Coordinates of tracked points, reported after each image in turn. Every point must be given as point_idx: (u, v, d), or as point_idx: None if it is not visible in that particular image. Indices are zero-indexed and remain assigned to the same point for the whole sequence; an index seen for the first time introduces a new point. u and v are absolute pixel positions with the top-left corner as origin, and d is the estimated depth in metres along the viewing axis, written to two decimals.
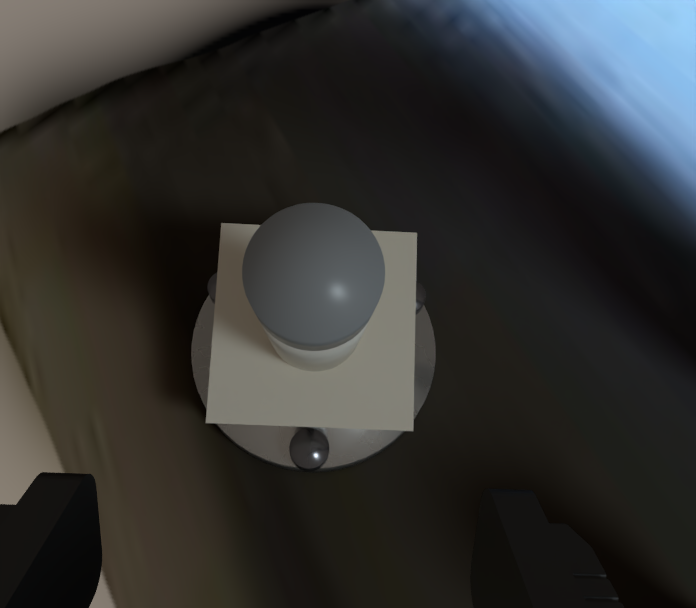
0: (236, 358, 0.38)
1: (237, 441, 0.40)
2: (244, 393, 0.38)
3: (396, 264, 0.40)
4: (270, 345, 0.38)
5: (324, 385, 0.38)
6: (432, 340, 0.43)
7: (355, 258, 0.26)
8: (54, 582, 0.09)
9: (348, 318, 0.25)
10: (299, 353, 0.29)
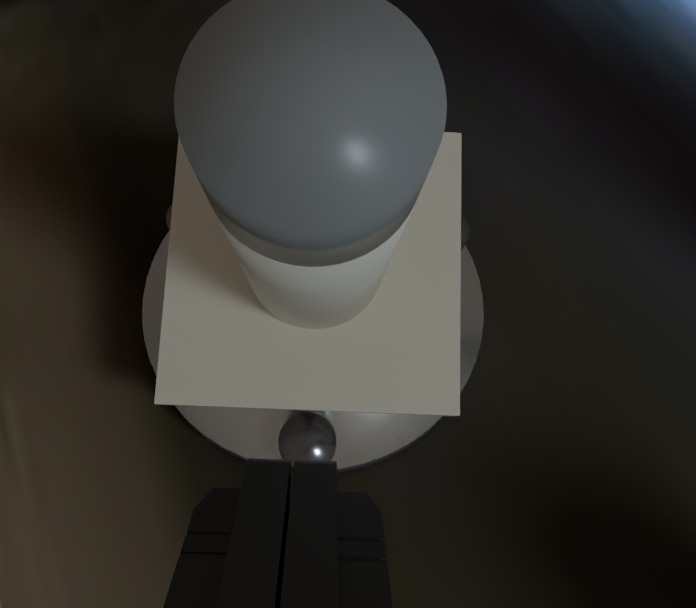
0: (200, 310, 0.26)
1: (204, 431, 0.28)
2: (212, 360, 0.26)
3: (432, 177, 0.27)
4: (250, 291, 0.26)
5: (329, 349, 0.26)
6: (478, 292, 0.31)
7: (390, 77, 0.14)
8: (283, 558, 0.09)
9: (378, 186, 0.13)
10: (288, 278, 0.17)
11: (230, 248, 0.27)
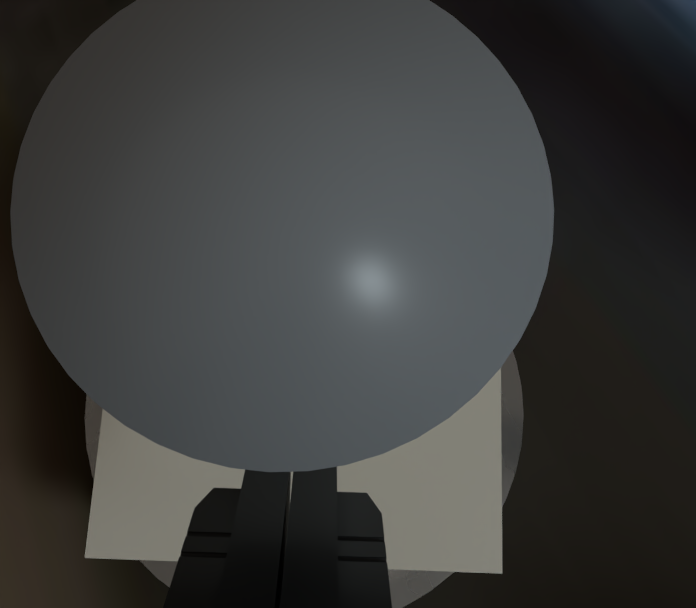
0: None
1: (160, 576, 0.21)
2: (165, 495, 0.19)
3: None
4: None
5: None
6: (516, 381, 0.24)
7: (442, 150, 0.07)
8: (283, 559, 0.09)
9: (420, 376, 0.06)
10: None
11: None
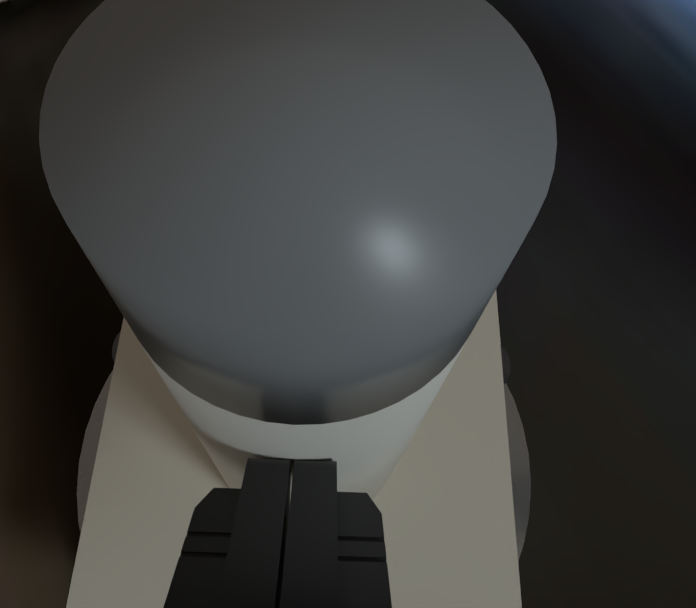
0: (141, 499, 0.18)
1: None
2: (152, 576, 0.17)
3: None
4: (215, 470, 0.19)
5: None
6: (523, 447, 0.24)
7: (447, 71, 0.07)
8: (283, 559, 0.09)
9: (438, 251, 0.06)
10: (261, 449, 0.10)
11: None
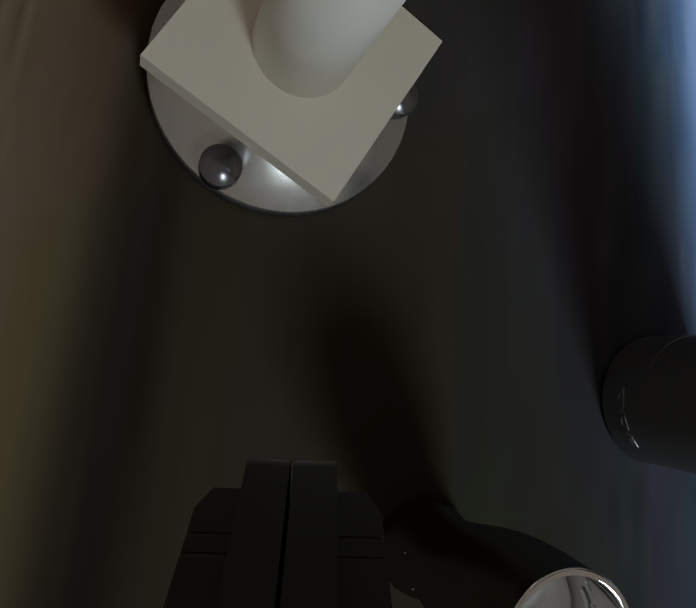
0: (209, 21, 0.33)
1: (158, 115, 0.37)
2: (197, 56, 0.33)
3: (408, 53, 0.37)
4: (249, 34, 0.34)
5: (278, 105, 0.34)
6: (393, 152, 0.41)
7: None
8: (283, 558, 0.09)
9: None
10: None
11: None
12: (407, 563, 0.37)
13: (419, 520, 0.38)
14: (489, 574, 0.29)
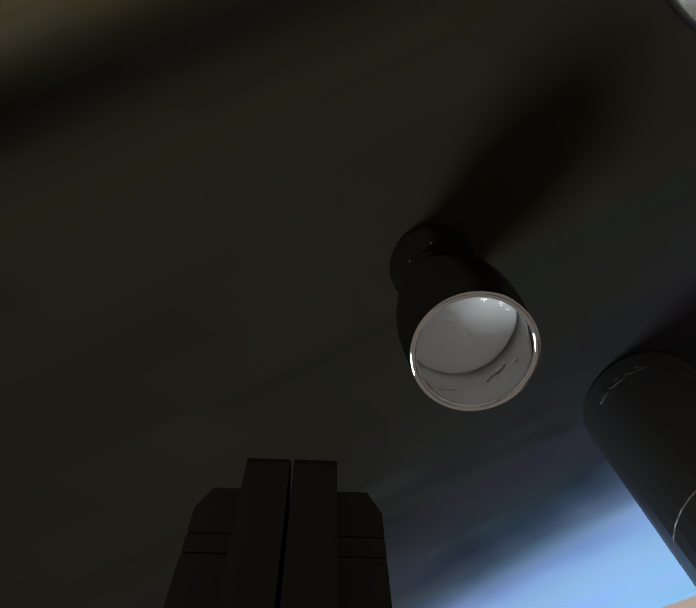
0: None
1: None
2: None
3: None
4: None
5: None
6: None
7: None
8: (283, 559, 0.09)
9: None
10: None
11: None
12: (425, 247, 0.42)
13: (458, 243, 0.43)
14: (487, 275, 0.33)
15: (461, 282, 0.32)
